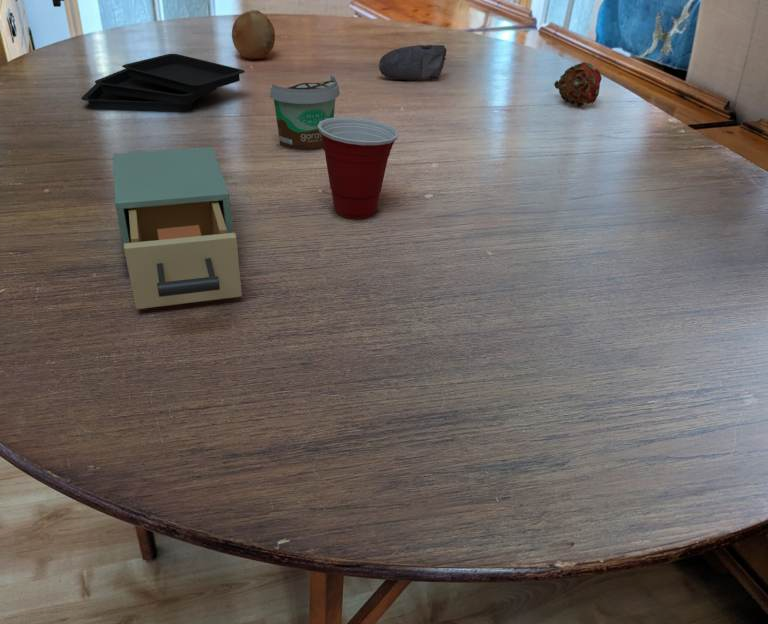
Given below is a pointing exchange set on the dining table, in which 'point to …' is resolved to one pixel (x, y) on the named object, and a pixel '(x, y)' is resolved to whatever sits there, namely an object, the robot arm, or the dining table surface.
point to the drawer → (181, 256)
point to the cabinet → (167, 182)
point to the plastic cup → (356, 162)
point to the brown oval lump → (253, 35)
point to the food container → (303, 112)
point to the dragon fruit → (579, 84)
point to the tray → (160, 84)
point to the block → (179, 232)
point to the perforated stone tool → (413, 62)
